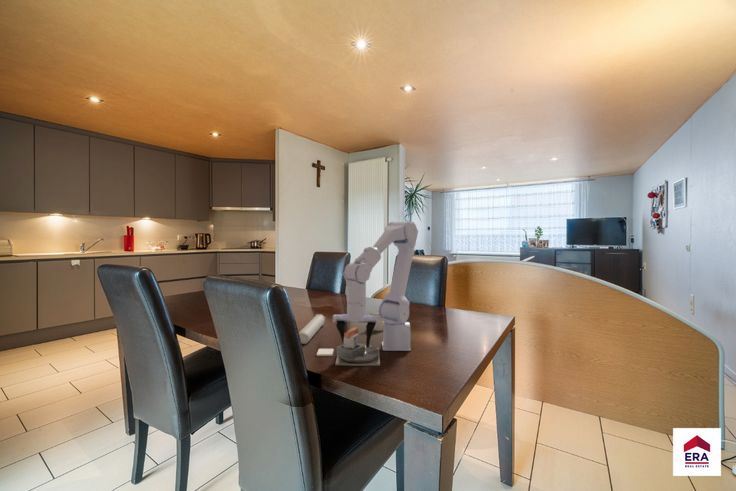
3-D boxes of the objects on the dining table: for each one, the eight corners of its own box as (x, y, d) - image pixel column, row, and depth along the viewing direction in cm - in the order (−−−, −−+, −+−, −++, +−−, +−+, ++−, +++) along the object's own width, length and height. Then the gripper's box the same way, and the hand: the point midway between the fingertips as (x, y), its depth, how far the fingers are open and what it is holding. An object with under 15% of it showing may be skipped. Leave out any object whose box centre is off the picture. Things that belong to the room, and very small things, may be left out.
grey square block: (370, 328, 134) (370, 311, 133) (386, 329, 132) (386, 312, 132) (368, 330, 130) (368, 313, 130) (385, 332, 129) (385, 314, 128)
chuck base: (378, 349, 108) (378, 348, 108) (380, 365, 94) (380, 364, 94) (339, 349, 108) (339, 347, 108) (335, 365, 94) (335, 363, 94)
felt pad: (333, 350, 107) (333, 348, 106) (332, 356, 102) (332, 354, 101) (318, 350, 107) (318, 348, 106) (316, 356, 102) (316, 354, 101)
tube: (310, 335, 111) (327, 316, 136) (296, 330, 111) (315, 312, 136) (306, 349, 111) (323, 327, 136) (292, 343, 112) (311, 323, 137)
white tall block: (350, 349, 101) (351, 326, 101) (360, 351, 100) (360, 328, 99) (340, 356, 95) (341, 332, 95) (350, 358, 94) (351, 334, 94)
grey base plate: (355, 344, 110) (355, 334, 110) (386, 353, 102) (386, 341, 102) (328, 356, 99) (328, 344, 99) (360, 367, 92) (360, 354, 91)
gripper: (330, 304, 94) (330, 348, 95) (378, 305, 92) (378, 351, 93) (335, 299, 101) (335, 340, 102) (380, 300, 99) (380, 343, 100)
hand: (356, 345), depth 98 cm, fingers open, 7 cm apart
